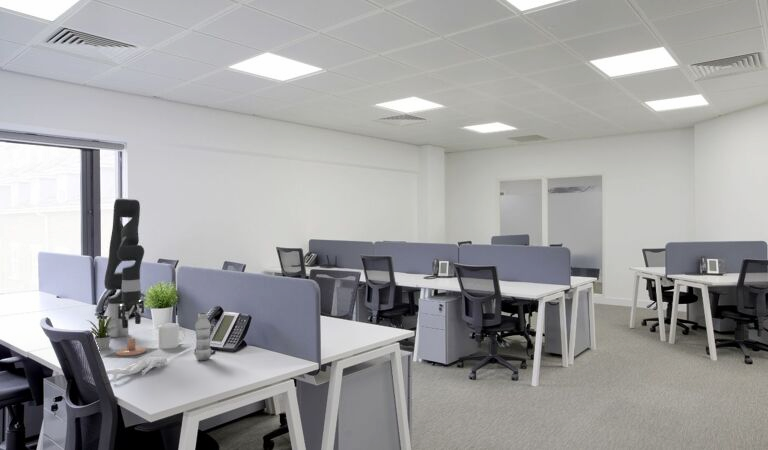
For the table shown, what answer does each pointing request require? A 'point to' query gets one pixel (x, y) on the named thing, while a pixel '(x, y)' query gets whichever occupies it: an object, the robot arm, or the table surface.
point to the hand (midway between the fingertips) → (131, 325)
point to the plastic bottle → (202, 337)
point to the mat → (148, 350)
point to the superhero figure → (138, 366)
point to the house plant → (102, 333)
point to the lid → (131, 349)
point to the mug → (169, 335)
